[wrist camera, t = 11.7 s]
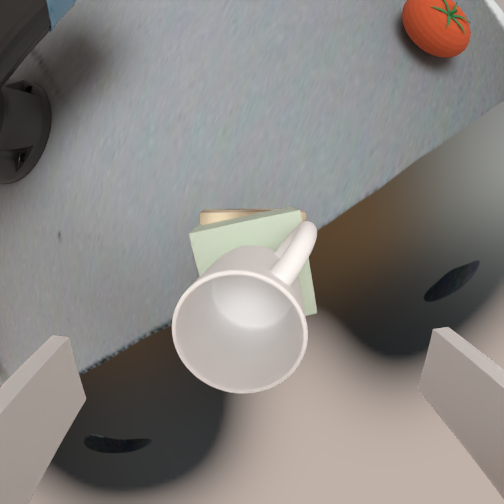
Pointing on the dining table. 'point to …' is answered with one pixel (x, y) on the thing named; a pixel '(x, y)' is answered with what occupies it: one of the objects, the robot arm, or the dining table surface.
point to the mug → (246, 316)
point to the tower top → (251, 242)
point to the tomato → (436, 26)
